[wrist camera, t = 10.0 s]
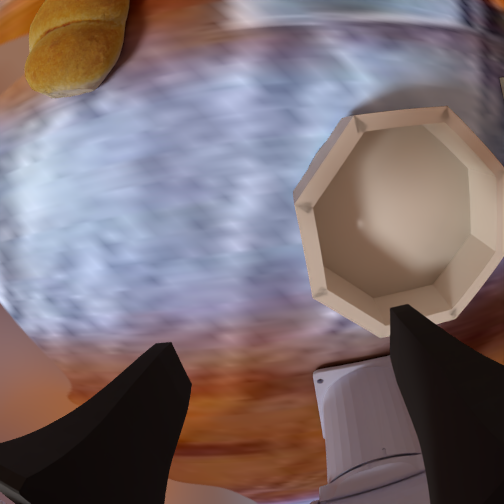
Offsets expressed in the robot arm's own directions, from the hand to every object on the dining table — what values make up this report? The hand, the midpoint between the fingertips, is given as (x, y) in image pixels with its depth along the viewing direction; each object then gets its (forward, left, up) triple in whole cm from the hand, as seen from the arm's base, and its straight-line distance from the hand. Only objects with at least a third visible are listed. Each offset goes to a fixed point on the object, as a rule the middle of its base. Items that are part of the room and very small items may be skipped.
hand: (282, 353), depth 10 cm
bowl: (+1, -7, -10) cm, 13 cm away
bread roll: (+17, +10, -11) cm, 23 cm away
